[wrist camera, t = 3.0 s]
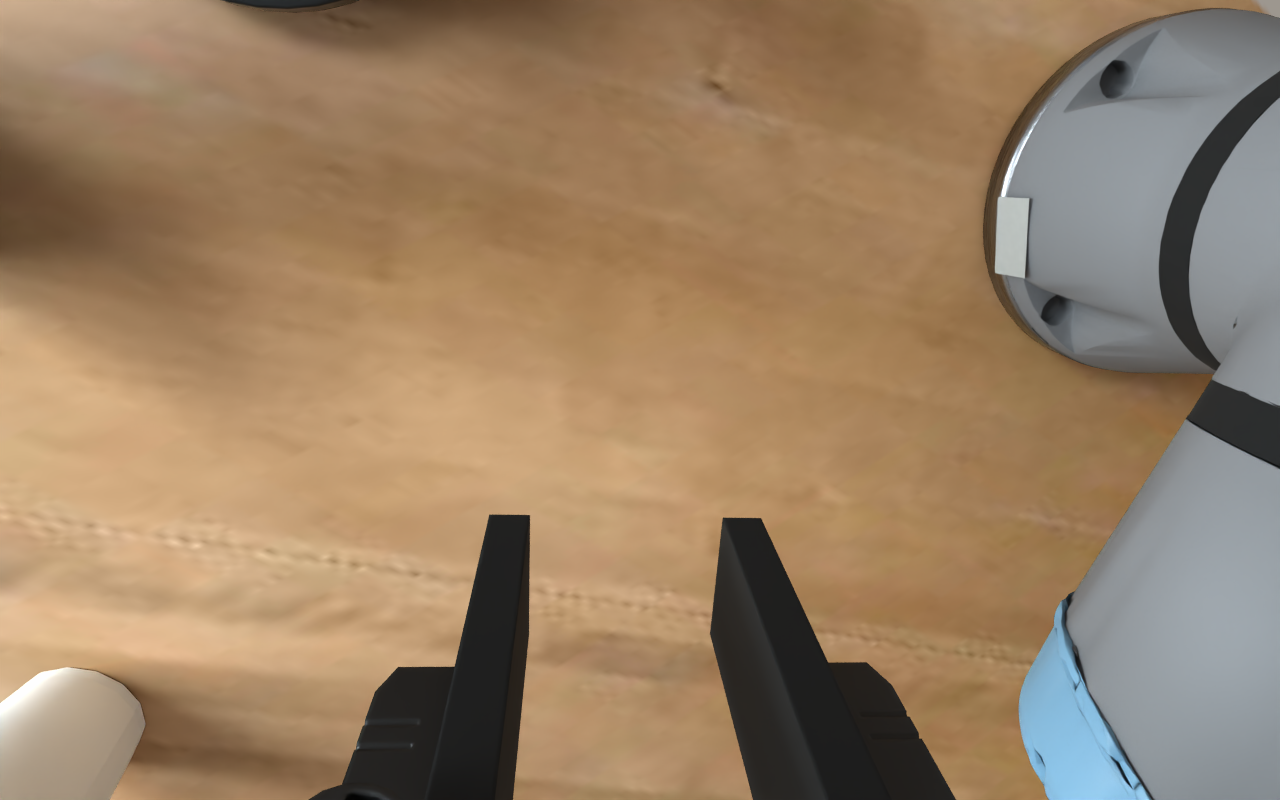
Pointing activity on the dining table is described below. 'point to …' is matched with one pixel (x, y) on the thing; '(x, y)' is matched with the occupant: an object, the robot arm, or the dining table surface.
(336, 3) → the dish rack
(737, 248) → the dining table surface
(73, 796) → the foam cup
